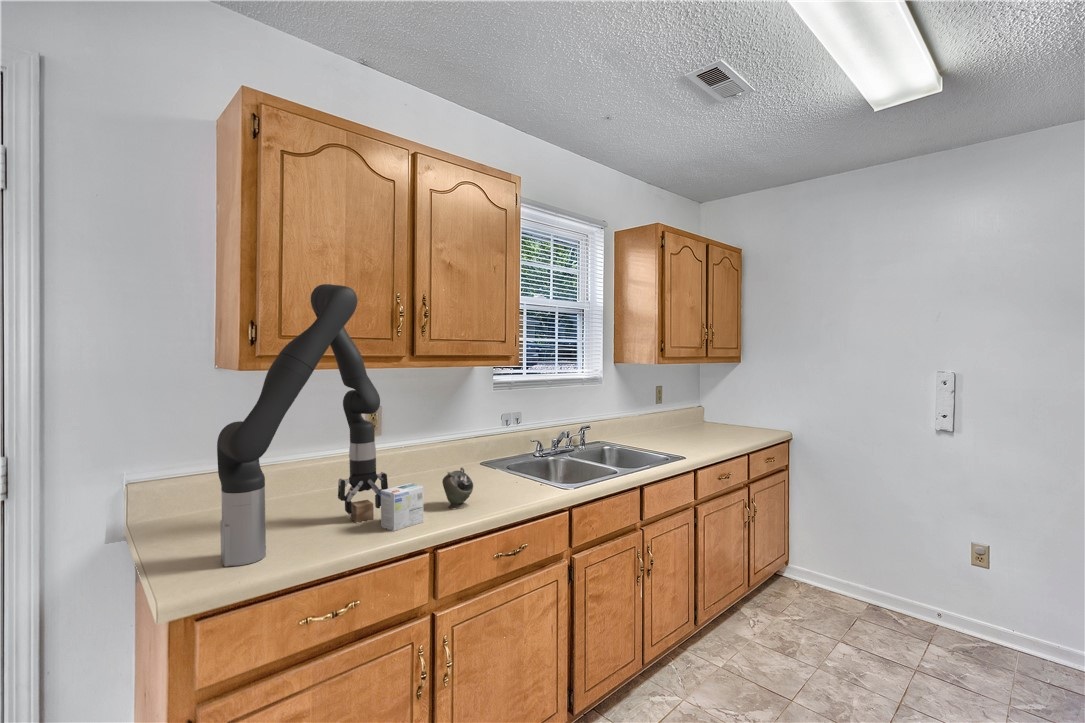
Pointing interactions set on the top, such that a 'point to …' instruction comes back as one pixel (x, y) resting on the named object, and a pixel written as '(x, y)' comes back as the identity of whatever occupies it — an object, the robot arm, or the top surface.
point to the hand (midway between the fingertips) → (363, 510)
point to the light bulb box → (401, 506)
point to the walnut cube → (362, 511)
